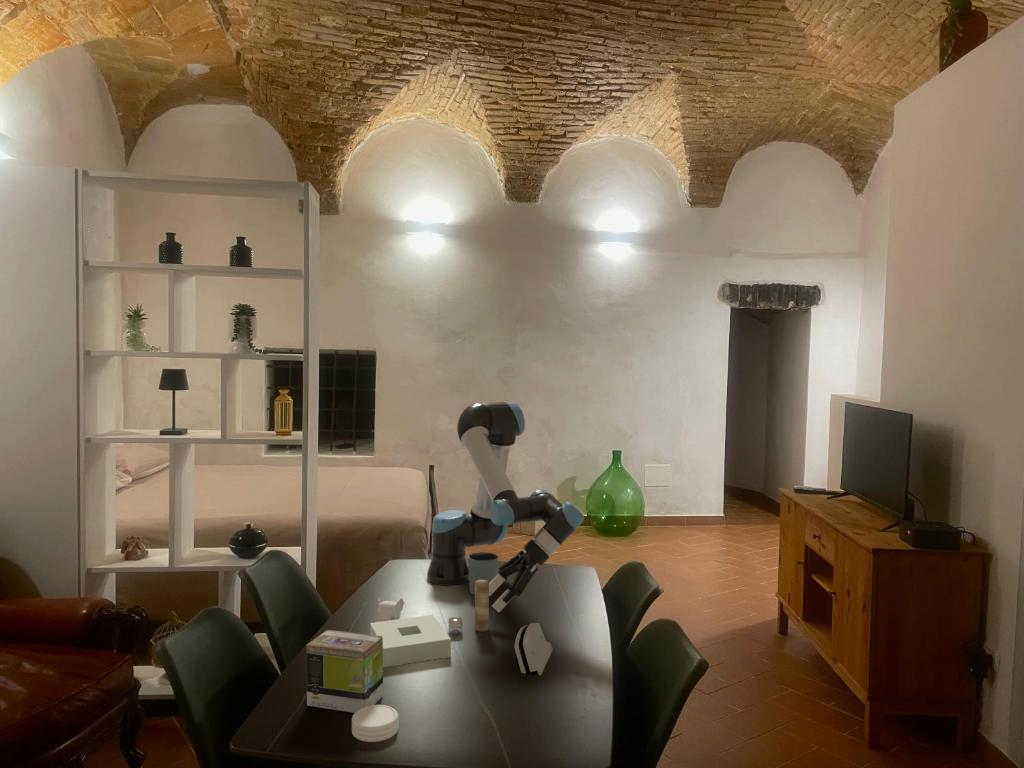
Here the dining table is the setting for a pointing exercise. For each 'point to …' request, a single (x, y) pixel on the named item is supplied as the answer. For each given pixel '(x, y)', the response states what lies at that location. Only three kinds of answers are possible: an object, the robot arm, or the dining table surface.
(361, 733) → the coaster
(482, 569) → the grey blue cup
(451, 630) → the steel stub
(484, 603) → the maple pin
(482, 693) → the dining table surface
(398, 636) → the sage block
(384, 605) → the elephant figurine
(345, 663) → the tea box
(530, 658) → the magnetic window cleaner
